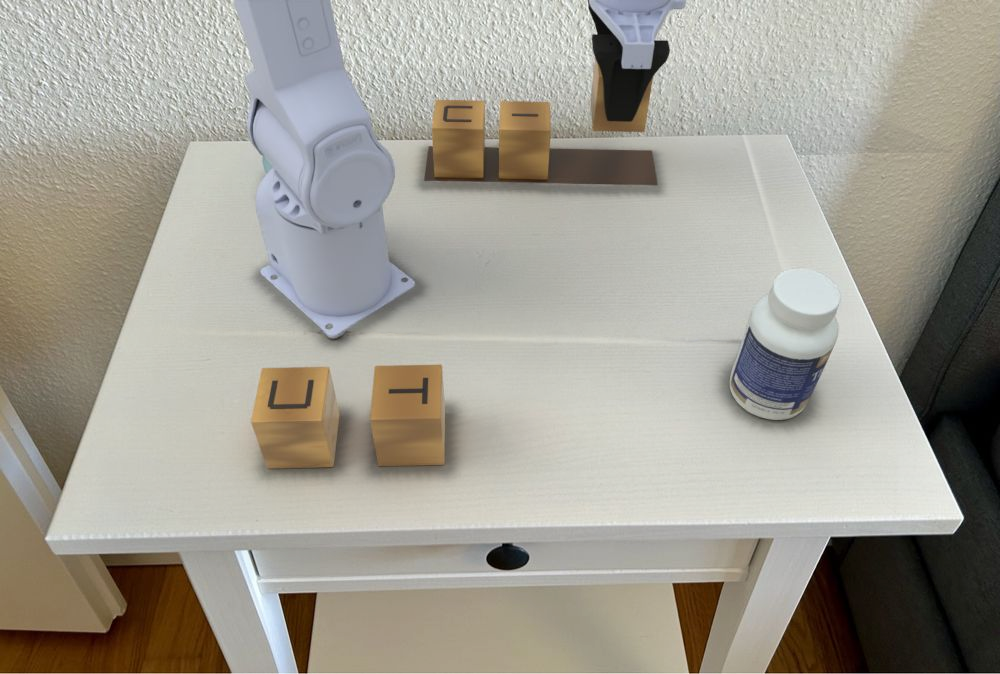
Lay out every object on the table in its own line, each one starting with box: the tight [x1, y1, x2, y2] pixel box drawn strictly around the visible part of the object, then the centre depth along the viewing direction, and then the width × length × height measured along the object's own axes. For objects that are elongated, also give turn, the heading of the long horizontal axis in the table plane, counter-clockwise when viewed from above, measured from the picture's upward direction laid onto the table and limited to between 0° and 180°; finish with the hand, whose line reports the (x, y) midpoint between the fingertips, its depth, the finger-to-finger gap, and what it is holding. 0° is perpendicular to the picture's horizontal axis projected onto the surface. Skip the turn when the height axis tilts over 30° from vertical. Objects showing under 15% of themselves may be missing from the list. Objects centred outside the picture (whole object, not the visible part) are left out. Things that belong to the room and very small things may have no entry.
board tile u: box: [431, 99, 486, 178], centre depth 72 cm, size 4×4×5 cm
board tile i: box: [498, 100, 552, 180], centre depth 72 cm, size 4×4×5 cm
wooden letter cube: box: [589, 57, 654, 133], centre depth 68 cm, size 4×4×5 cm
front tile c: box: [250, 366, 341, 470], centre depth 53 cm, size 4×4×5 cm
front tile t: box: [369, 364, 446, 467], centre depth 53 cm, size 4×4×5 cm
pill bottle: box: [729, 267, 842, 421], centre depth 54 cm, size 5×5×10 cm
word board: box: [423, 145, 658, 186], centre depth 74 cm, size 20×5×1 cm, turn 89°
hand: (617, 102), depth 69 cm, fingers closed on wooden letter cube, 4 cm apart
